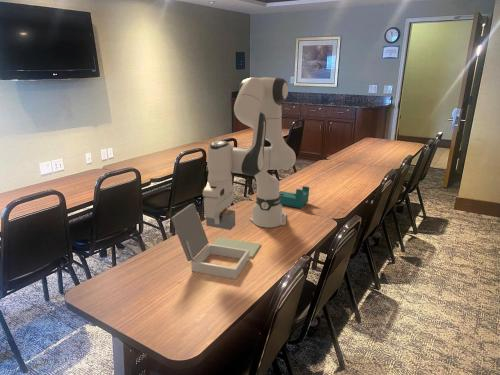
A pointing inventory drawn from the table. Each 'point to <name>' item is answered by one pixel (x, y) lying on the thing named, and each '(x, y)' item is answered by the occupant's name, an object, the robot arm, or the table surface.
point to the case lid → (190, 230)
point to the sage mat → (239, 245)
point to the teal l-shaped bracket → (295, 197)
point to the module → (223, 220)
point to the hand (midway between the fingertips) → (220, 220)
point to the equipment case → (217, 269)
